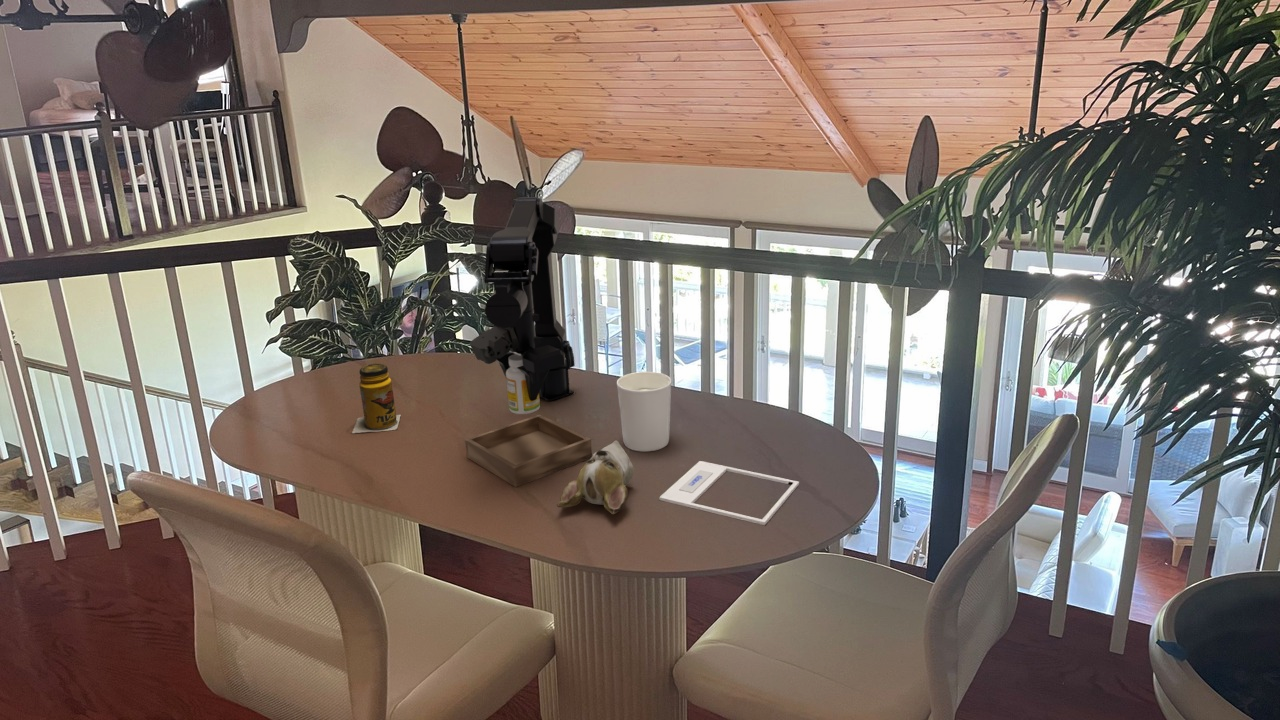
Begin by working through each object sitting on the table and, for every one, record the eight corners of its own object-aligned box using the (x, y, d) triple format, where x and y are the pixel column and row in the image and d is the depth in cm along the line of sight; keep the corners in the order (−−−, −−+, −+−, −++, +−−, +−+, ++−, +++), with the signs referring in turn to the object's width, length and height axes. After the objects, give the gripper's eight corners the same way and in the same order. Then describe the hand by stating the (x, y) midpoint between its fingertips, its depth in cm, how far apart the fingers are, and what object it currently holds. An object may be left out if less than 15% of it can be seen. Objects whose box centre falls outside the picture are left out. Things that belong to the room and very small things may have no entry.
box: (540, 431, 170) (539, 414, 169) (592, 457, 158) (591, 439, 157) (466, 457, 160) (464, 439, 159) (516, 487, 149) (514, 468, 148)
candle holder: (609, 448, 162) (606, 386, 158) (635, 427, 170) (632, 368, 166) (658, 457, 157) (656, 394, 153) (682, 436, 166) (680, 375, 162)
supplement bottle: (542, 403, 159) (538, 351, 155) (536, 415, 154) (532, 362, 150) (513, 402, 159) (508, 351, 156) (505, 415, 154) (500, 362, 151)
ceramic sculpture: (646, 434, 146) (614, 480, 133) (649, 480, 149) (619, 530, 136) (585, 428, 149) (549, 472, 136) (590, 473, 152) (554, 521, 139)
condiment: (396, 430, 173) (388, 372, 169) (351, 434, 172) (342, 375, 168) (401, 415, 180) (393, 359, 176) (357, 419, 179) (349, 363, 175)
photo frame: (699, 459, 155) (799, 480, 146) (699, 465, 155) (798, 486, 146) (659, 496, 143) (764, 521, 134) (659, 502, 143) (764, 527, 134)
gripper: (446, 309, 152) (455, 394, 157) (505, 332, 139) (514, 424, 144) (501, 295, 159) (509, 377, 164) (564, 316, 145) (570, 405, 151)
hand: (523, 395), depth 156 cm, fingers closed on supplement bottle, 5 cm apart
